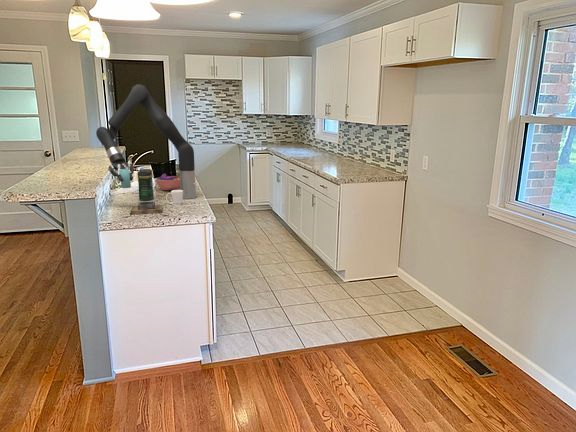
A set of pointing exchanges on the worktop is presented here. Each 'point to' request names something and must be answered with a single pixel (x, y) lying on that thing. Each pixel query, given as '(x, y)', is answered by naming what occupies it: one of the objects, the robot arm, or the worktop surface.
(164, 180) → the cell model
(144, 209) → the walnut base
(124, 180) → the teal peg
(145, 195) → the coffee jar
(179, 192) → the cup
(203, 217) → the worktop surface
